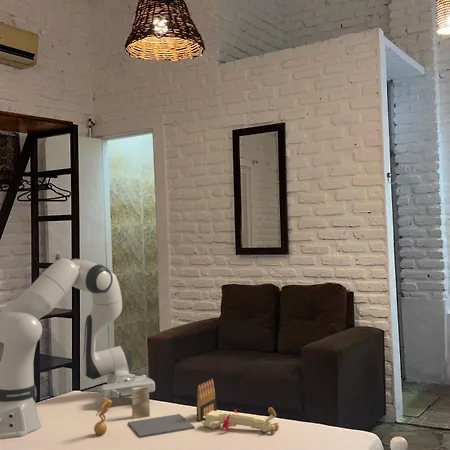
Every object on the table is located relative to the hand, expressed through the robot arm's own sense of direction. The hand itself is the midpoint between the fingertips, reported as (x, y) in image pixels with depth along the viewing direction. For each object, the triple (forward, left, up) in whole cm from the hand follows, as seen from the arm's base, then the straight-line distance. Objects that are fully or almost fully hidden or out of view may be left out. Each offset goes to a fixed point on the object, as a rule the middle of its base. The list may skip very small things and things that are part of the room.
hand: (132, 393), depth 223 cm
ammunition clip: (+20, -24, -6) cm, 31 cm away
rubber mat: (+3, -26, -5) cm, 26 cm away
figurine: (-16, -25, -6) cm, 30 cm away
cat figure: (+24, -41, -6) cm, 48 cm away
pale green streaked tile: (0, -12, -6) cm, 13 cm away
